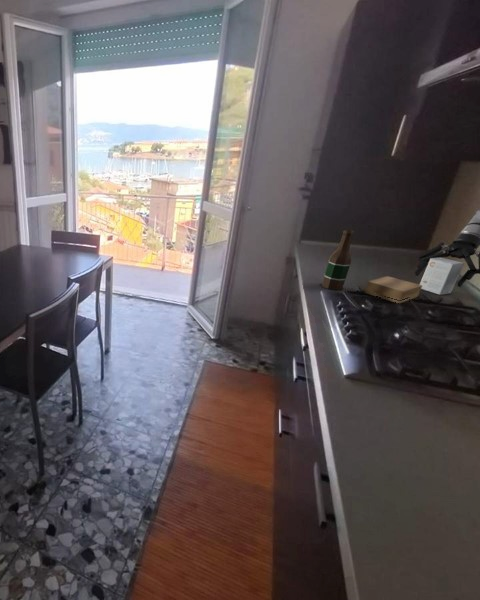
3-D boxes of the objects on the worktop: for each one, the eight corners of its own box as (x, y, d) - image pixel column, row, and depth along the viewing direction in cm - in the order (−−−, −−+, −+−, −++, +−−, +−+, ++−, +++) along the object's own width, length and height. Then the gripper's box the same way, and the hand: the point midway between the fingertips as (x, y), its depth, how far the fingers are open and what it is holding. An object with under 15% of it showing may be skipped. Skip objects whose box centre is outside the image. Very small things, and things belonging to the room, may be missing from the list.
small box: (451, 293, 144) (465, 262, 138) (439, 295, 142) (453, 264, 137) (428, 286, 151) (441, 257, 146) (417, 287, 149) (429, 258, 144)
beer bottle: (346, 291, 146) (365, 233, 137) (325, 289, 148) (343, 232, 138) (337, 284, 153) (354, 229, 144) (317, 283, 155) (333, 228, 145)
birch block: (417, 297, 141) (422, 285, 139) (398, 303, 135) (403, 291, 133) (382, 287, 150) (386, 275, 148) (364, 292, 145) (368, 281, 143)
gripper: (514, 252, 136) (478, 294, 136) (432, 237, 156) (401, 274, 156) (515, 239, 131) (478, 284, 131) (431, 226, 152) (399, 265, 152)
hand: (436, 279), depth 144 cm, fingers open, 13 cm apart
